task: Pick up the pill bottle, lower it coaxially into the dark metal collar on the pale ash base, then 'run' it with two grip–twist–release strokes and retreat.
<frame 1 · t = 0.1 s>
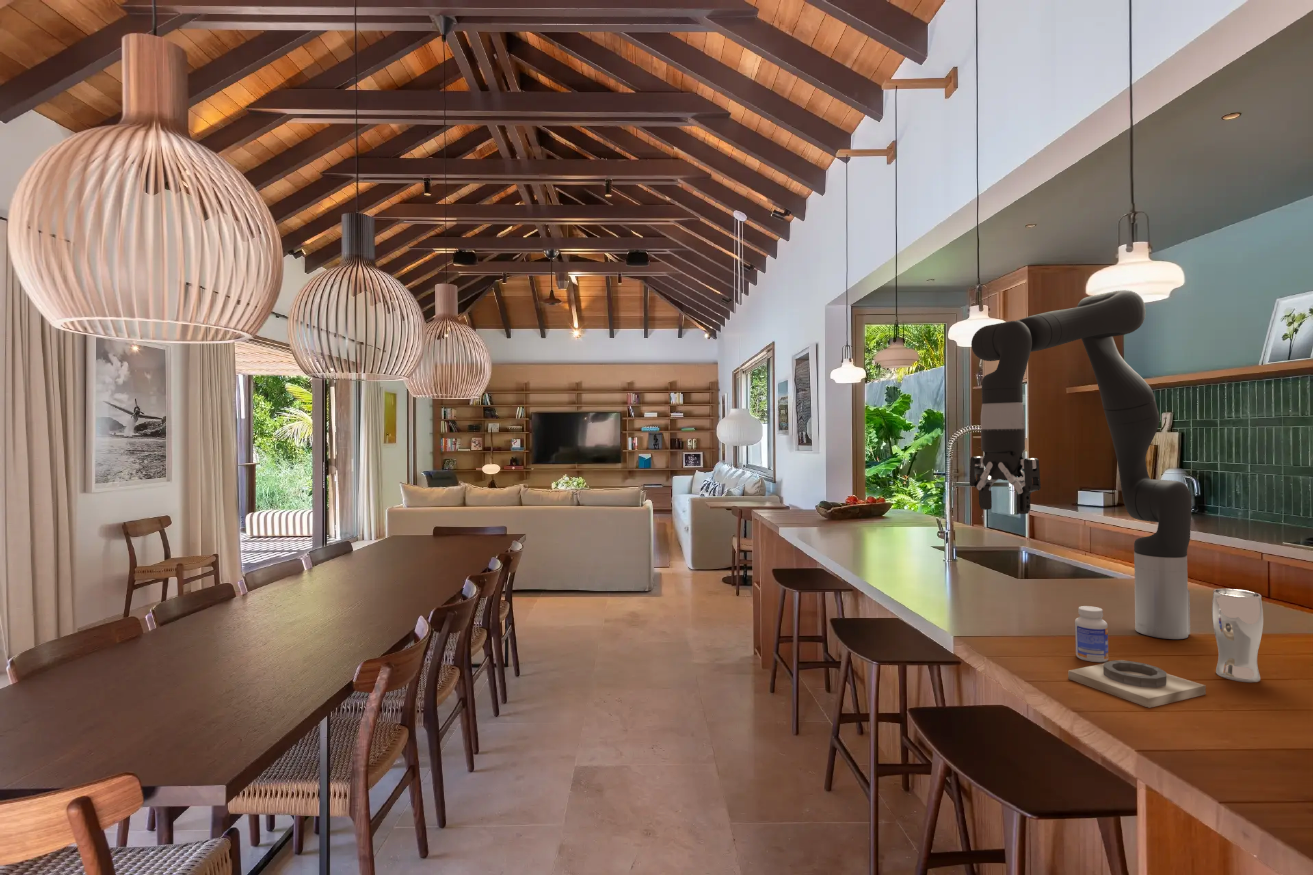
hand: (1003, 511, 131), 29 cm above the counter, fingers open, 8 cm apart
collar base: (1134, 686, 118), on the counter
pill bottle: (1091, 659, 132), on the counter
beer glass: (1237, 677, 122), on the counter
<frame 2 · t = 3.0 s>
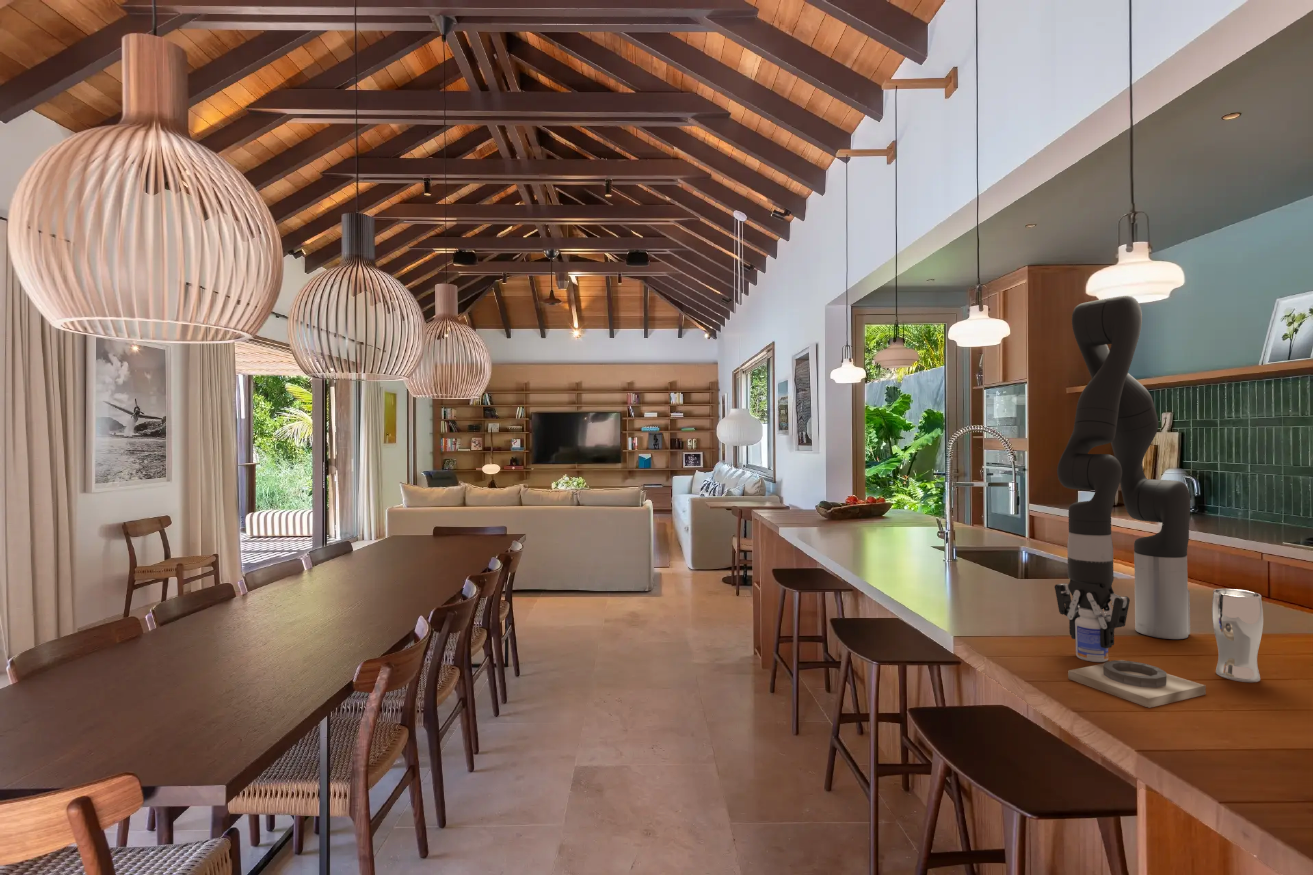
hand: (1091, 642, 133), 3 cm above the counter, fingers closed on pill bottle, 5 cm apart
pill bottle: (1091, 659, 132), on the counter, touching gripper
everything else where it was.
when the fingers open (5 cm above the counter, at t = 7.8 s): pill bottle stays where it is, resting on collar base.
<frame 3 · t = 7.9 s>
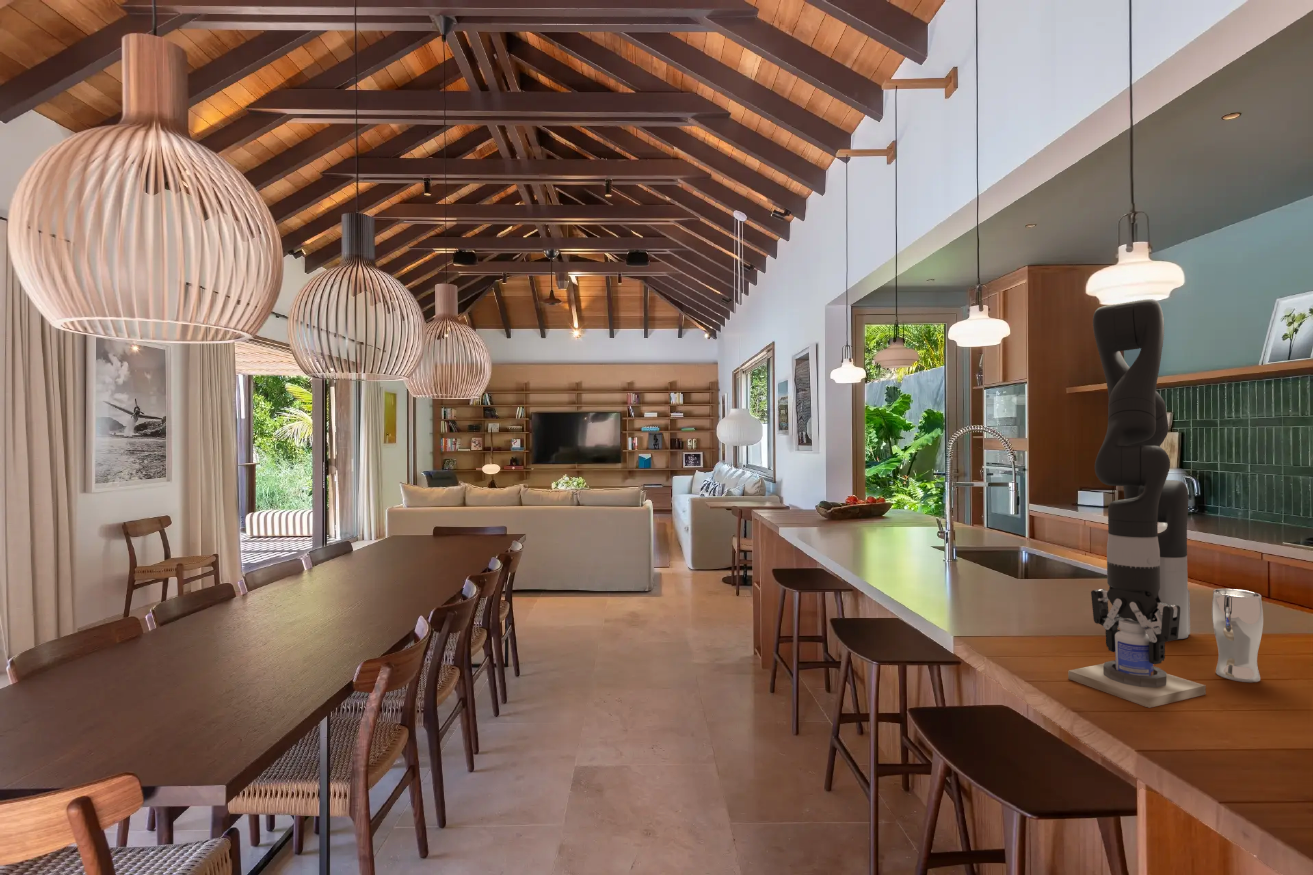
hand: (1134, 656, 118), 5 cm above the counter, fingers open, 6 cm apart
pill bottle: (1134, 678, 118), point 1 cm above the counter, touching collar base
everything else where it was.
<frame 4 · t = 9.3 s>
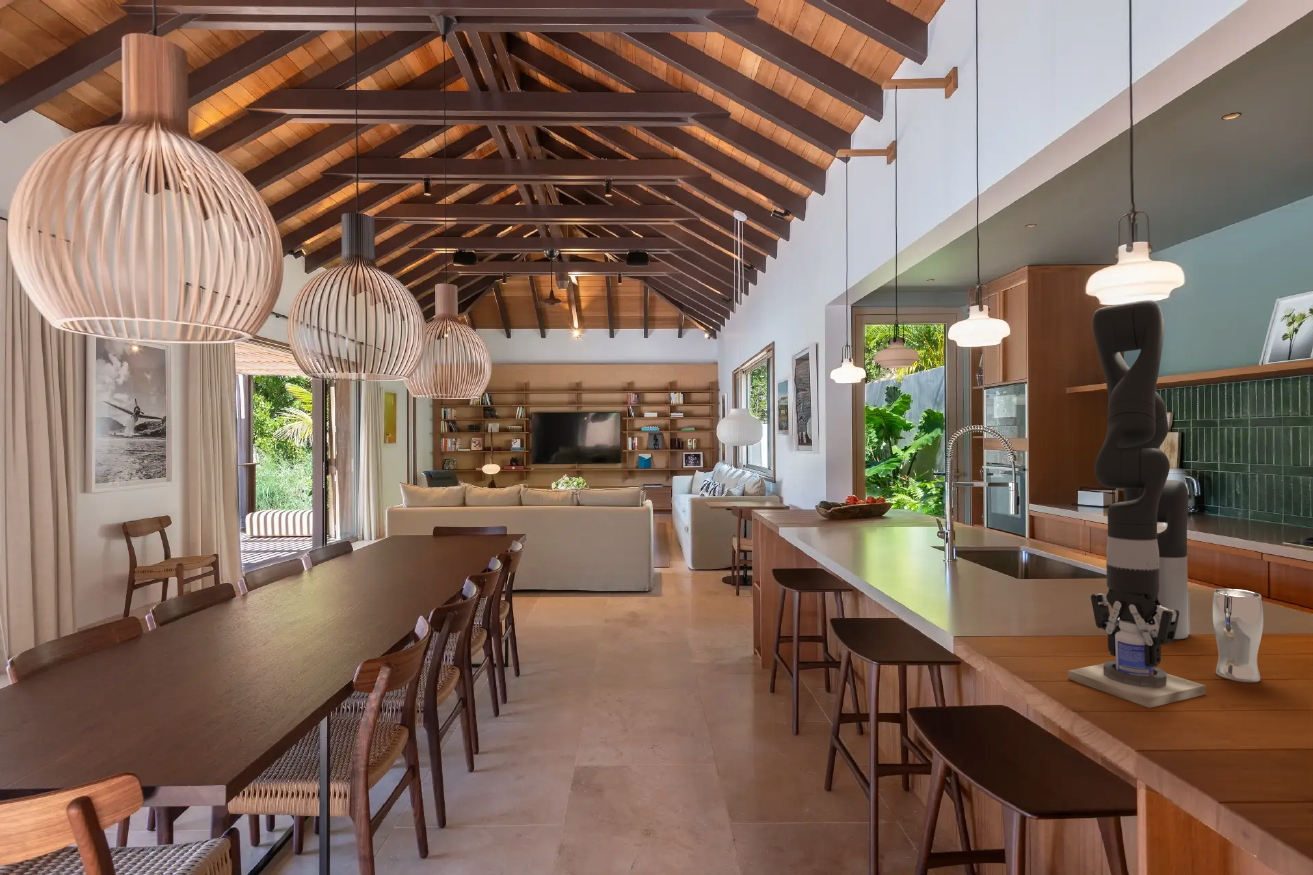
hand: (1133, 660, 118), 4 cm above the counter, fingers closed on pill bottle, 5 cm apart
pill bottle: (1134, 678, 118), point 1 cm above the counter, touching collar base, gripper
everything else where it was.
when the fingers open (5 cm above the counter, at t = 11.3 s): pill bottle stays where it is, resting on collar base.
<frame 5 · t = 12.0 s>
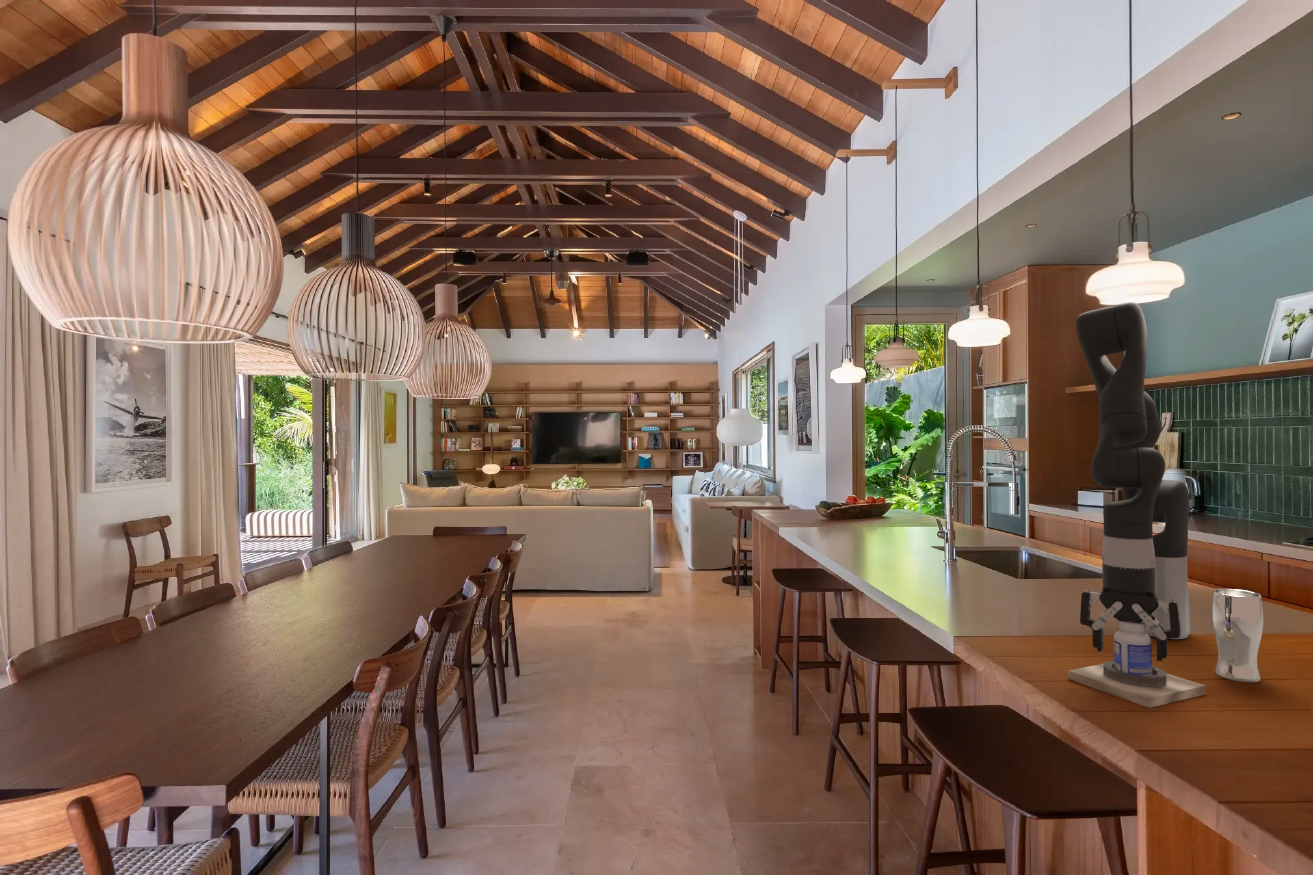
hand: (1129, 655, 118), 5 cm above the counter, fingers open, 8 cm apart
pill bottle: (1133, 678, 118), point 1 cm above the counter, touching collar base
everything else where it was.
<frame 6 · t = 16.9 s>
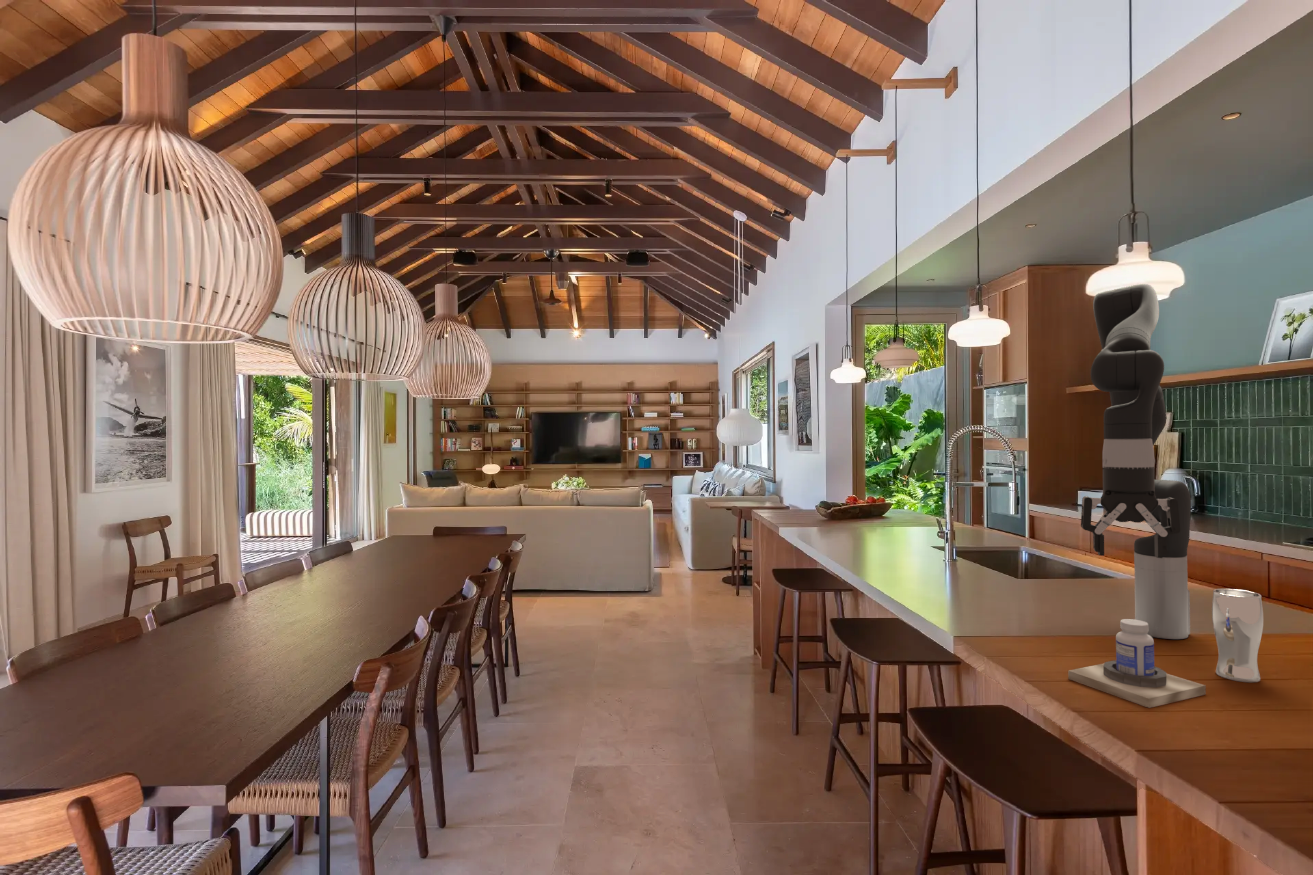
hand: (1129, 556, 120), 22 cm above the counter, fingers open, 8 cm apart
at the end: pill bottle 0.1 cm off-centre on the collar base, point 1.3 cm above the collar base's base; pill bottle tilted 0°; the gripper is holding nothing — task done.
